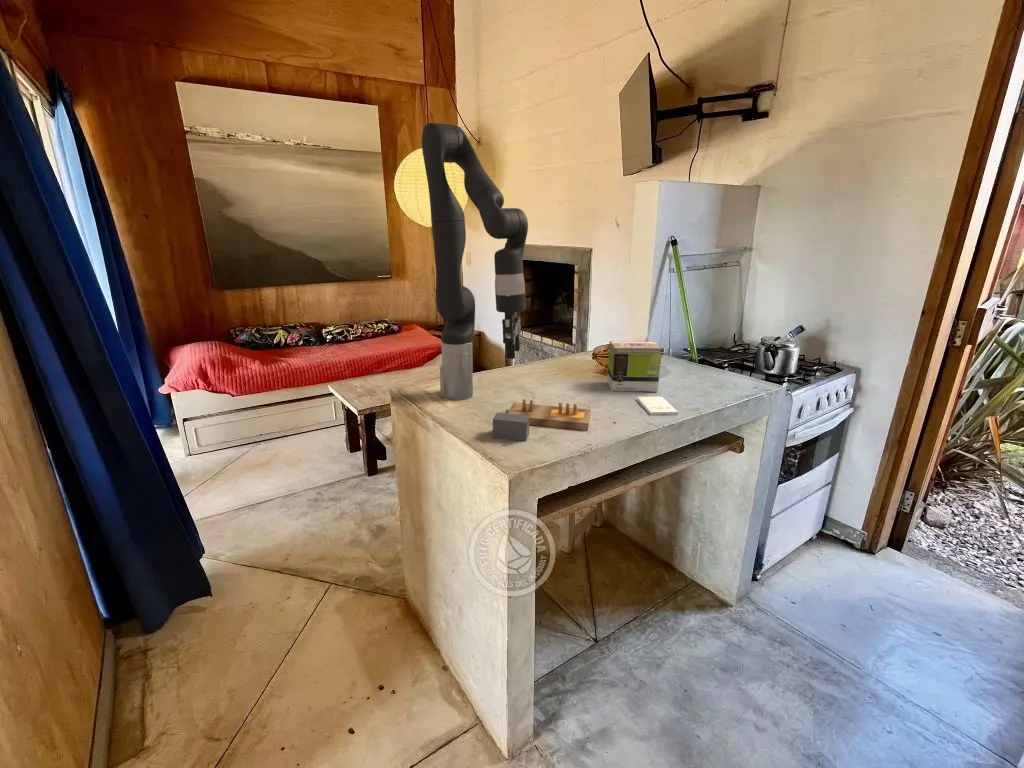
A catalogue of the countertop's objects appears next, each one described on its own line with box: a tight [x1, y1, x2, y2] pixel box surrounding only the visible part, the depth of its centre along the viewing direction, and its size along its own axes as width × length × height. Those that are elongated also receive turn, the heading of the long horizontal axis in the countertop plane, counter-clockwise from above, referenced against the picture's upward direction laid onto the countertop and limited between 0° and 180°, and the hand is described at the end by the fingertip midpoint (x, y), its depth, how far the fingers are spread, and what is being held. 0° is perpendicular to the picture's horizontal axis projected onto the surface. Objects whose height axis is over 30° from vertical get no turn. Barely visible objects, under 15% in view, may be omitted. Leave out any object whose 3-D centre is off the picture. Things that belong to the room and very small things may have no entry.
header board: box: [507, 399, 591, 431], centre depth 135 cm, size 22×10×5 cm, turn 79°
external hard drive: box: [636, 396, 679, 416], centre depth 146 cm, size 2×8×12 cm
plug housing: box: [492, 412, 531, 442], centre depth 124 cm, size 9×5×5 cm, turn 79°
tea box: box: [606, 340, 662, 393], centre depth 161 cm, size 15×10×15 cm
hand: (513, 354), depth 129 cm, fingers open, 8 cm apart
